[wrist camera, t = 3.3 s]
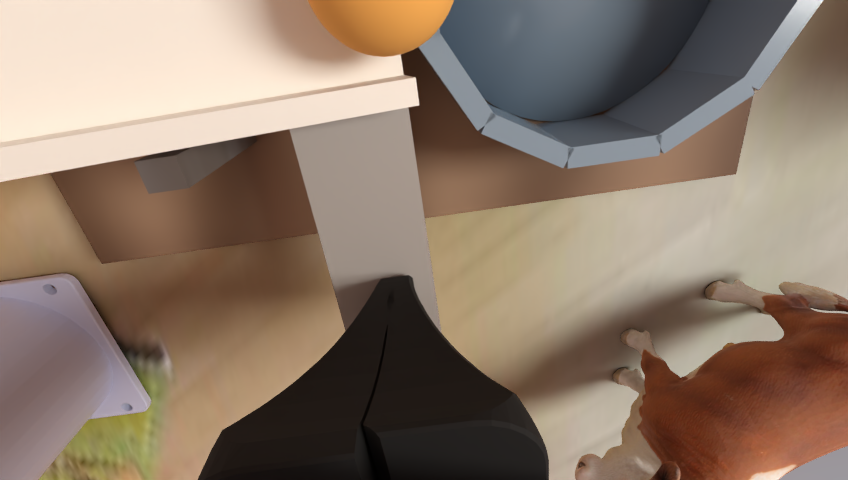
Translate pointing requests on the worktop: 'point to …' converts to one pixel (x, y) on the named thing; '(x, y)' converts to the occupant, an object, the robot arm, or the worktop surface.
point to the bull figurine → (738, 398)
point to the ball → (382, 23)
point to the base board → (288, 200)
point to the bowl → (607, 69)
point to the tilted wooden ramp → (225, 112)
